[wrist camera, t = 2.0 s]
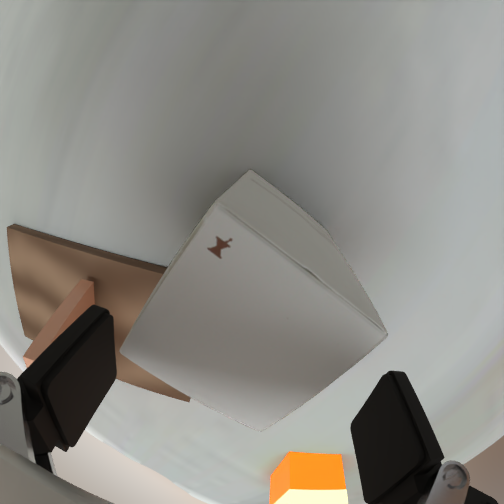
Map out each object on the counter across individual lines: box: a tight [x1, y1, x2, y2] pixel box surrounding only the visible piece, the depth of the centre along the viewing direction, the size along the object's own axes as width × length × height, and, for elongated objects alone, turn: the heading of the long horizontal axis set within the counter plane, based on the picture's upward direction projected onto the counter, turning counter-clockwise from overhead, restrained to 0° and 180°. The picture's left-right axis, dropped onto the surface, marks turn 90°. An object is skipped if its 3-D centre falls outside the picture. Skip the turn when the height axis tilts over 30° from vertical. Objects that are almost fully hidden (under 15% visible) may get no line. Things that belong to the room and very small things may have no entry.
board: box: [7, 224, 191, 402], centre depth 24 cm, size 14×22×1 cm, turn 77°
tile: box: [23, 279, 95, 368], centre depth 18 cm, size 10×10×1 cm
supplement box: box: [119, 169, 388, 432], centre depth 15 cm, size 7×7×13 cm
